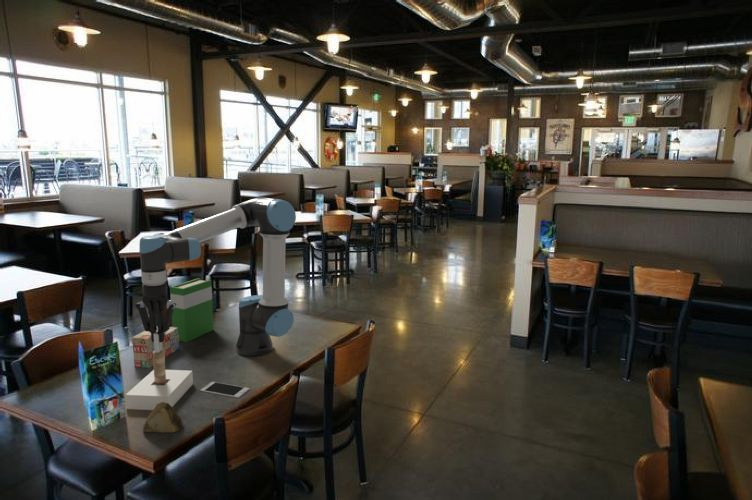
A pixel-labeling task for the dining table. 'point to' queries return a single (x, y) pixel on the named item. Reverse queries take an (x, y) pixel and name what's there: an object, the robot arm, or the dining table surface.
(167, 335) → the stack of blocks
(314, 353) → the dining table surface
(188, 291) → the hardback book
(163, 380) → the beech peg
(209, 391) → the smartphone
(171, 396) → the hole board
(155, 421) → the rock
